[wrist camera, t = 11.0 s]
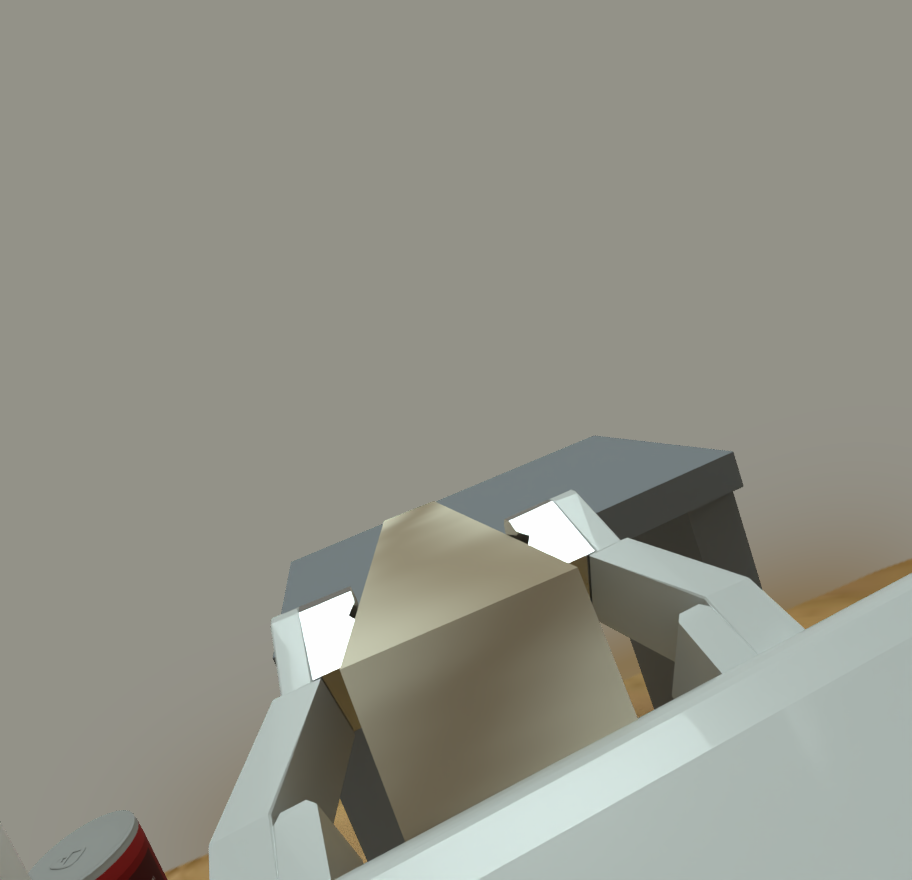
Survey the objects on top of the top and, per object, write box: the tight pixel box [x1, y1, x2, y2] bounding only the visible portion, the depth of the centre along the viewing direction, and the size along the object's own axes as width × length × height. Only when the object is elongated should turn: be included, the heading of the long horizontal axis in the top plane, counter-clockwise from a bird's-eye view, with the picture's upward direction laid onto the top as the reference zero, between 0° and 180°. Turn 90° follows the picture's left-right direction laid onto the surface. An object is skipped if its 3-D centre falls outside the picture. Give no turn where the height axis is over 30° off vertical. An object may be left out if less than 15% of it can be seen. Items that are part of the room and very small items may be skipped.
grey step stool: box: [273, 436, 762, 862], centre depth 38 cm, size 25×16×26 cm, turn 103°
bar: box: [340, 501, 638, 842], centre depth 20 cm, size 3×26×2 cm, turn 10°
